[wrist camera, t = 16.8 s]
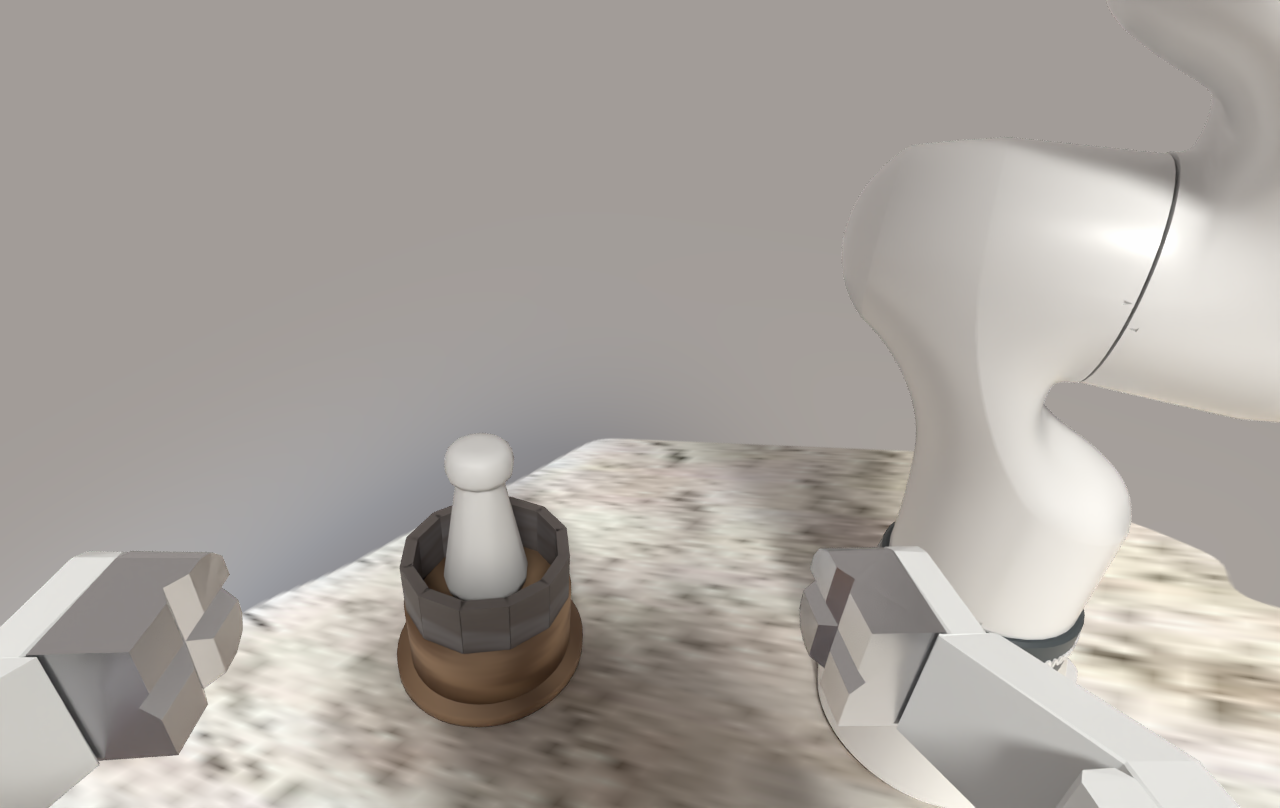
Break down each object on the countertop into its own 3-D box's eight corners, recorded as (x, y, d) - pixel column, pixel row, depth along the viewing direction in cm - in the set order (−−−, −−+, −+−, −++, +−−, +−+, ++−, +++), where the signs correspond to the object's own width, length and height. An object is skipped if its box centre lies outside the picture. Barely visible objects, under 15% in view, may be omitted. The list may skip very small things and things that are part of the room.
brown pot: (524, 556, 57) (522, 468, 52) (617, 658, 48) (625, 562, 43) (370, 628, 48) (351, 531, 44) (448, 768, 39) (435, 665, 35)
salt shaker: (544, 589, 45) (544, 442, 39) (486, 639, 41) (476, 483, 35) (489, 555, 48) (480, 412, 42) (429, 598, 44) (410, 446, 38)
